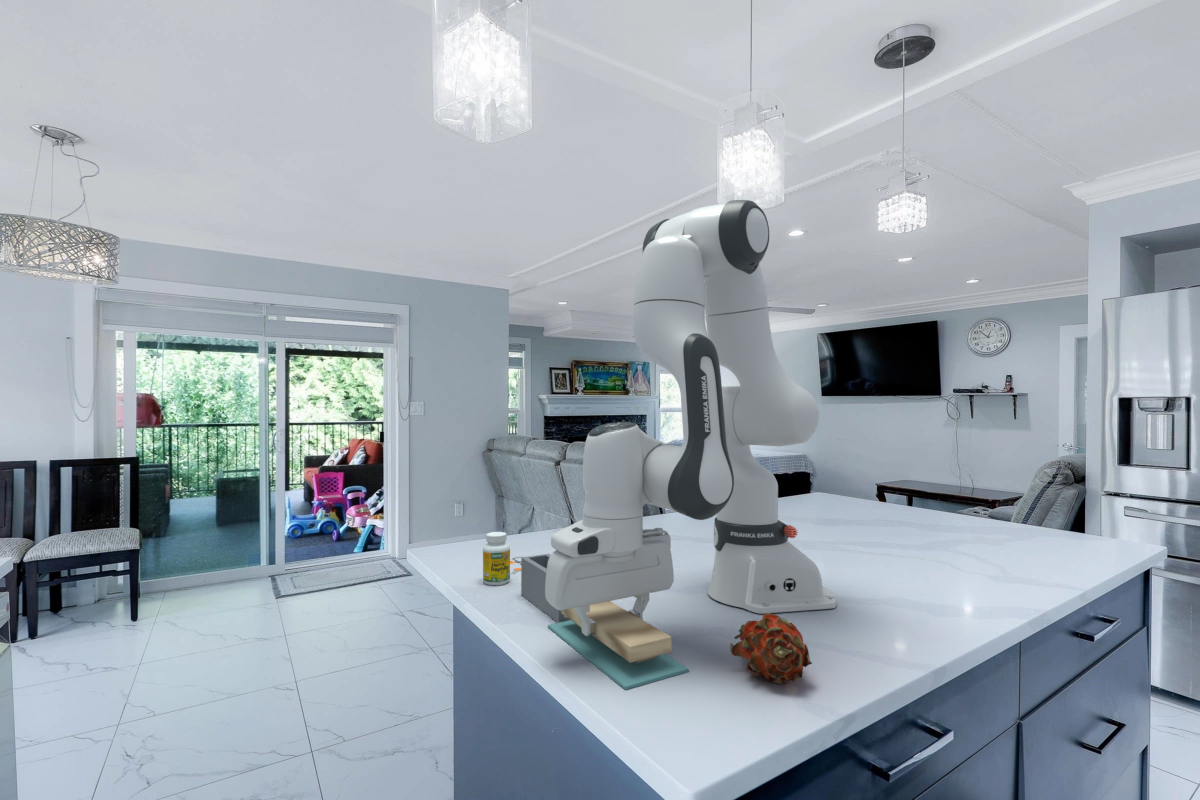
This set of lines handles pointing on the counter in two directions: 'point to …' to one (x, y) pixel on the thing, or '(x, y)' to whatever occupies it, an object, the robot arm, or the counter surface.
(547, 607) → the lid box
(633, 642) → the oak lid
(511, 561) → the key chain
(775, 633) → the dragon fruit
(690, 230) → the robot arm
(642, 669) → the teal mat
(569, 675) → the counter surface
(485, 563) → the supplement bottle
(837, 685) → the counter surface
